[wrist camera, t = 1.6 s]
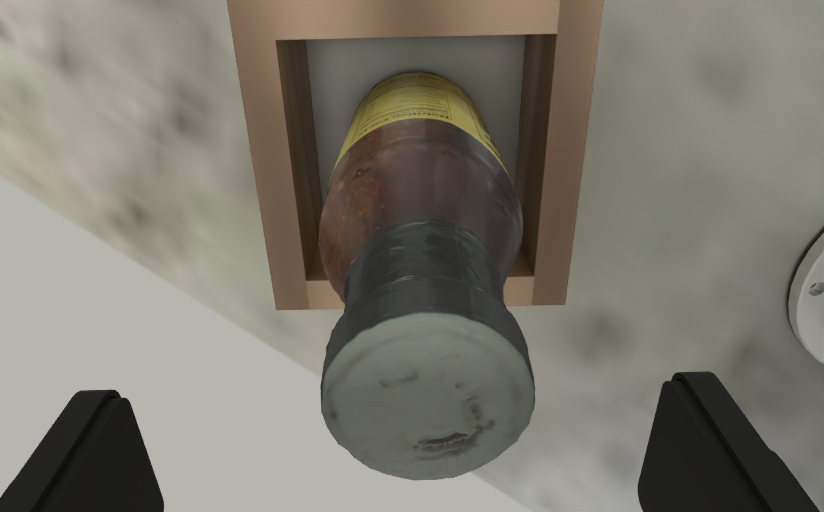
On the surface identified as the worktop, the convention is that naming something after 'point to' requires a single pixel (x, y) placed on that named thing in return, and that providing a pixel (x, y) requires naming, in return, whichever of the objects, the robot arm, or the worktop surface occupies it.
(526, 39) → the walnut sleeve
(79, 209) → the worktop surface
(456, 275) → the sauce bottle
